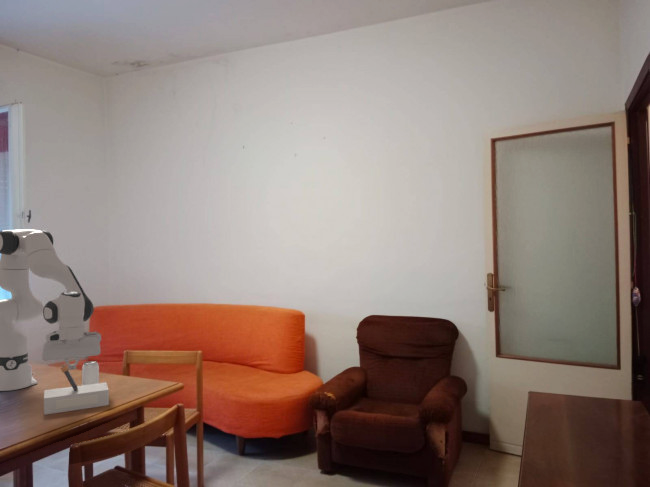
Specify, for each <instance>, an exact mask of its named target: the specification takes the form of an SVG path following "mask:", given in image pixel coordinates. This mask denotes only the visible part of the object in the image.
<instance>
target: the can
mask: <svg viewBox="0 0 650 487" xmlns="http://www.w3.org/2000/svg"><path fill="white" fill-rule="evenodd" d="M82 364H83V365H82V368H81V372H82V373H81V376H82V377H81V378H82V379H81V381H82V382H81V385H89V384H96V383H100V365H99V363H98V361H97V360H95V361H94V360H89V361H85V362H83V363H82Z"/></svg>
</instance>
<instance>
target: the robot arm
mask: <svg viewBox="0 0 650 487" xmlns="http://www.w3.org/2000/svg"><path fill="white" fill-rule="evenodd" d="M30 272H31V273H32V274H34V275H35V276H38V277H39V278H44V279H48V280H53V281H55V282H58V283H59V284H61V285H63V286H64V288H65V291H62V292H61V293H60V294H59V296H58V297H56V298H54V299H52V300H49V301H48V302H46V303H45V305H44V304H43V302H42V300H40V299H39V298H38V297H36V296H35V295H34V294H33V292H32V289H31V288H30V281H29V277H30V276H29V273H30ZM0 288H1V289H3V290H4V291H6V292H9V293H10V294H11V298H5V299H4V298H3V299H0V392H5V391H6V392H7V391H8V392H9V391H15V390H16V391H17V390H20V389H24V388H27V387H31V386H33V385H36V384H37V385H38V381H37V380H36V379H35V378H34V377H33V375H34V373H33V372H32V371H33V370H32V368H33V367H32V365H31V364H30V363H29V362H28V361H29V353H28V352H27V351H28V350H27V348H28V346H27V345H28V342H27V341H28V340H27V336H26V335H25V333H23V332H21V331H19V330H15V328H14V324H18V323H19V324H21V323H27V322H32V321H34V320H37V319H39V318H41V316H42V315H43V319H44V320H45V321H46V323H48V324H49V325H58V329H57V330H55V331H52V332H49V333H47V334H46V335H45V340H46V341H45V342H44V344H43V348H42V352H41V353H42V354H41V356H42V358H41V359H42V360H43V361H45V362H46V361H47V362H49V361H58V360H64V363H65V364H66V365H67V367H68V371H70V370H71V371H72V370H77V365H78V363H79V362H80V358H83V357H85V358H86V357H92V356H94V357H95V356H99V355H100V354H101V353H102V352H101V349H102V348H101V343H100V342H102V335H101V333H100V332H97V331H92V332H90V331H88V332H87V331H86V332H85V323H84V322H87V321H89V319H90V318H92V316H93V313H94V311H95V308H94V304H93V302H92V300H91V299H90V298H89V297H88V296H87V294H86V293H85V291H84V289H83V286H81V284H80V282H79V280H78V278H77V277H76V275H75V274H74V272H73V270H72V269H71V267H70V266H69V265H67V264H65V263H64V261H62V260H61V259H60V258H59V256H58V254H57V252H56V249H55V248H54V236H53V235H52V234H51V232H49V231H48V230H43V229H39V230H38V229H32V228H29V229H28V228H23V229H4V230H0ZM70 359H74V360H75V362H74V363H70V362H69V361H70Z"/></svg>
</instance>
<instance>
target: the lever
mask: <svg viewBox="0 0 650 487" xmlns="http://www.w3.org/2000/svg"><path fill="white" fill-rule="evenodd" d="M59 367H60V370H61V372H62V373H64V375H65V377H66V378H67V381H68V382H69V384H70V387H72V388H73V389H74V391H77V390H78V388H77V386H78V385H77V383H76V382H75V380H74V378H73V376H72V374H71V373H70V370H68V365H67V364H66V363H64V364H62V365H60V366H59Z"/></svg>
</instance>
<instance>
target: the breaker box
mask: <svg viewBox="0 0 650 487" xmlns="http://www.w3.org/2000/svg"><path fill="white" fill-rule="evenodd" d="M77 388H78V390H77V391H74V389H73V388H72V386H67V387H66V386H65V387H59V388H58V387H57V388H51V389H44V393H43V415H46V416H47V415H51V414H52V415H53V414H58V413H64V412H71V411H77V410H78V411H79V410H86V409H91V408H92V409H93V408H99V407H105V406H106V407H107V406H109V405H110V389H109V387H108V383H107V382H99V383H96V384H89V385H82V384H81V385H77Z"/></svg>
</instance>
